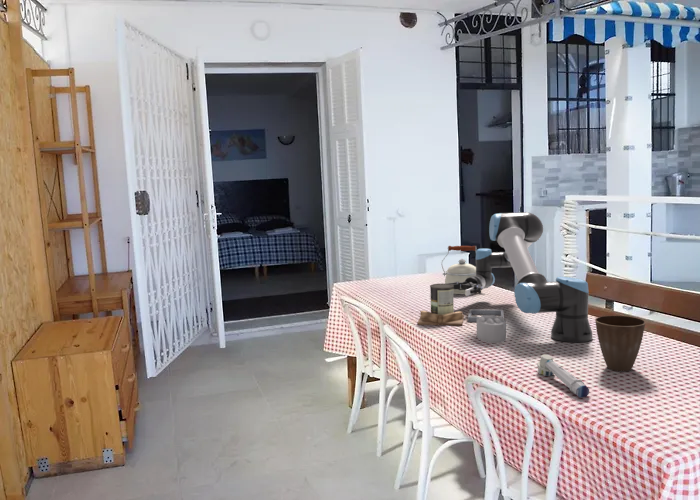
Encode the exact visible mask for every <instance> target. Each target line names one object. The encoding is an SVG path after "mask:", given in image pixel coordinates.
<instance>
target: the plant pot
mask: <svg viewBox="0 0 700 500" xmlns="http://www.w3.org/2000/svg"><path fill="white" fill-rule="evenodd" d="M594 321H595V326H596V334H597V339H598V343H599V347H600V352H601V354H602V357H603V360H604V362H605V365H606V367H607V369H608V370H611V371H615V372H630V371H631V370H632V369H633V367H634V364H635V362H636V360H637V358H638V355H639V351H640V348H641V345H642V342H643V338H644V334H645V333H644V332H645V326H646V321H645V320H644V319H642V318H639V317H635V316H628V315H602V316H598V317H596V318H595V319H594Z"/></svg>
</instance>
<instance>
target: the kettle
mask: <svg viewBox="0 0 700 500" xmlns="http://www.w3.org/2000/svg"><path fill="white" fill-rule="evenodd" d="M477 250H478V249H477V245H472V246H471V245H455V246H454V245H453V246H451V245H448V246H447V254H446V255H445V256H444V257H443V259H442V260H441V263H443V262H444V260H445V258H447V256H448V255H449V253H450V252H451V251H457V252H458V251H460V252H462V251H475V252H476V251H477ZM441 267H442V271H443V273H442V275H444V277H445V279H444V284H446V283H454V282H459V283H460V282H464V281H465V280H466V279H467V278H469V277H472V276H474V275H476V265H473V264H471V263H467V262H466V260H465V259H464V258H460V259H459V260H458V263H454V264H452V265H450V266H449V267H448V268H447V270H446V271H445V269H444V266H443V265H441ZM460 288H461V287H460ZM453 295H465V290H458V289H454V290H453Z"/></svg>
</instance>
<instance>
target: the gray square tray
mask: <svg viewBox="0 0 700 500" xmlns="http://www.w3.org/2000/svg"><path fill="white" fill-rule="evenodd" d="M467 315H468V316H467V322H468V323H469V322H470V323H477V318H479V317H480V316H472V315H495V316H497V315H498V316H502V317H503V318H504V310H503V309H470V308H469V310H468V314H467ZM504 319H505V318H504Z"/></svg>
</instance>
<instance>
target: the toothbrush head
mask: <svg viewBox="0 0 700 500" xmlns="http://www.w3.org/2000/svg"><path fill="white" fill-rule="evenodd" d="M537 373H538V374H539V375H543V376H544V377H551V376H555V377H556V378H557V379H559V380H560V381H561V383H563V384H564V385H565V386H566V387H567V388H569V391H570V392H571V393H572V394H574V395H576V396H577V397H578V398H586V397H588V396H589V395H590V388H589V387H588V386H587V385H586V384H585V382H584V381H583V380H582V379H578V378H577V377H575V376H574V375H573V374H572V373H570V372H569V371H567V370H566V368H564V367H562V366H561V365H559V364H558V363H557V362H555V361H554V358H553V356H552V355H550V354H547V353H546V354H542V355H541V356H540V360H539V361H538V362H537Z"/></svg>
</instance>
